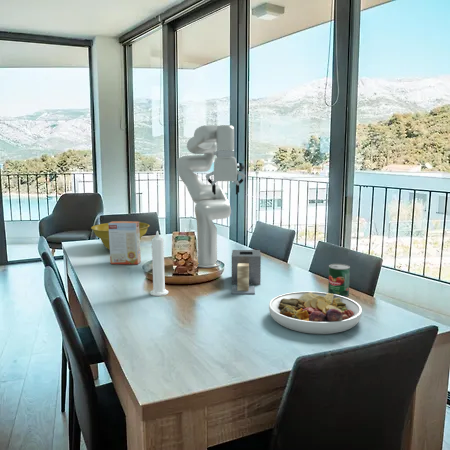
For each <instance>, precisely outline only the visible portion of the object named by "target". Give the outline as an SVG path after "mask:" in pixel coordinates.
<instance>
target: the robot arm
mask: <svg viewBox="0 0 450 450" xmlns="http://www.w3.org/2000/svg"><path fill="white" fill-rule="evenodd" d="M186 149H187V150H188V152H189V153H191V155H183V156H180V157H178V158H177V160H176V171H177V173H178V176H179V178H180V180H181V181H182V182H183V184H185V187H186V188H187V191H188V193H189V195H190V197H191V199H192V201H193V203H195V206H194V213H195V219H196V231H197V232H196V235H197V243H196V244H197V254H198V263H199V264H198V266H197V267H198V268H205V269H206V268H207V269H208V268H217V267H219V266H220V265H221V263H220V264H218V265H216V264H215V263H216V261H217V260H218V231H217V230H218V229H217V226H216V224H215V223H214V222H213V221H214V220H223V219H227V218H229V217H230V216H231V214H232V208H231V207H232V206H231V204H230V202H229V199H228V197H227V196H226V194H225V192H224V190H223V188H222V187H221V186H220V185H218V184H217V182H234V183H235V195H236V196H237V195H238V193H240V185H241V184H242V183H243V182H244V180H245V178H246V174H245V173H242V172H241V171H239V170H238V164H237V163H238V162H237V157H235V126H233V125H232V124H231V125H230V124H220V125H217V124H216V125H213V124H212V125H210V124H209V125H208V124H206V125H201V126H199V127H197V128H196V129H195V130H194V133H193V136H192V137H190V138H189V139H188V140H187V143H186ZM192 154H193V155H192ZM194 154H195V155H194ZM215 156H216V157H215ZM213 163H214V164H213ZM212 165H213V170H212V172H210V173H207V174H206V175H205V178H206V180H207V182H208V183H209V184H205V183H204V181H203V180H202V178H201V176H199V175H198V174H196V173H201V172H202V173H205V172H209V170H211V168H212ZM238 175H239V177H241V178H240V180H238ZM211 176H213V180H212V179H211V178H210V177H211Z"/></svg>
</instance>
